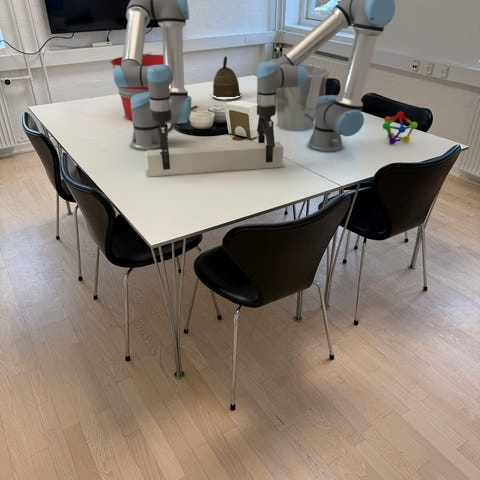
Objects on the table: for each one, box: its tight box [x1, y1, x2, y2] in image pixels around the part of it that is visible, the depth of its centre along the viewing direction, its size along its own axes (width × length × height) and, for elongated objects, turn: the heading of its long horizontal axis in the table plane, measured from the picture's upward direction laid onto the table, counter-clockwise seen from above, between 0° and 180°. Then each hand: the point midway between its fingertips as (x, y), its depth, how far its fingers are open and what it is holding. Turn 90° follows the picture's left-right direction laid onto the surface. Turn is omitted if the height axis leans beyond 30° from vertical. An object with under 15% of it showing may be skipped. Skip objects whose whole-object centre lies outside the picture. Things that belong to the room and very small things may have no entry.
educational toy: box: [382, 110, 418, 145], centre depth 207 cm, size 16×13×15 cm
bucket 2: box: [275, 63, 330, 131], centre depth 226 cm, size 30×30×28 cm
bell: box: [212, 56, 242, 97], centre depth 278 cm, size 19×26×20 cm
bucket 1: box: [107, 51, 164, 122], centre depth 239 cm, size 35×35×30 cm
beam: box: [146, 141, 285, 177], centre depth 181 cm, size 55×6×9 cm, turn 101°
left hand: (165, 162), depth 178 cm, fingers open, 13 cm apart
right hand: (265, 156), depth 184 cm, fingers open, 13 cm apart
